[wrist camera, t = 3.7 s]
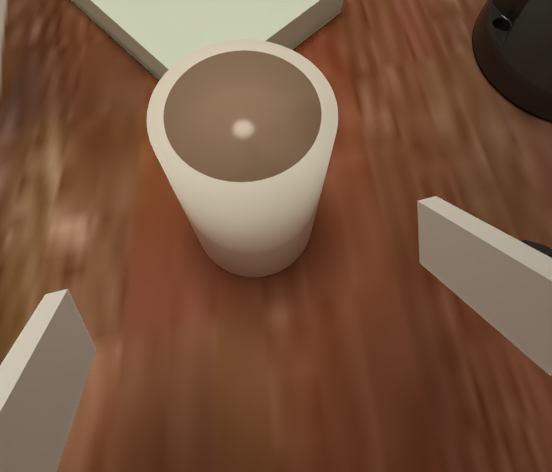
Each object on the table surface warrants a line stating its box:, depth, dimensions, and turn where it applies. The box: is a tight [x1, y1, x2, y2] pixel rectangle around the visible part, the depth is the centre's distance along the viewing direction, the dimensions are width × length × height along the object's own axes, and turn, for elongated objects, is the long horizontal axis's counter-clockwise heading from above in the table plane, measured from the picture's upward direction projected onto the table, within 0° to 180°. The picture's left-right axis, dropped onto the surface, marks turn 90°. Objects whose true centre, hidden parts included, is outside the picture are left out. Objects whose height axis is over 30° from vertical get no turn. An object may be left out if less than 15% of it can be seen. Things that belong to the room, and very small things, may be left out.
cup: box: [147, 39, 338, 277], centre depth 22 cm, size 8×8×12 cm
